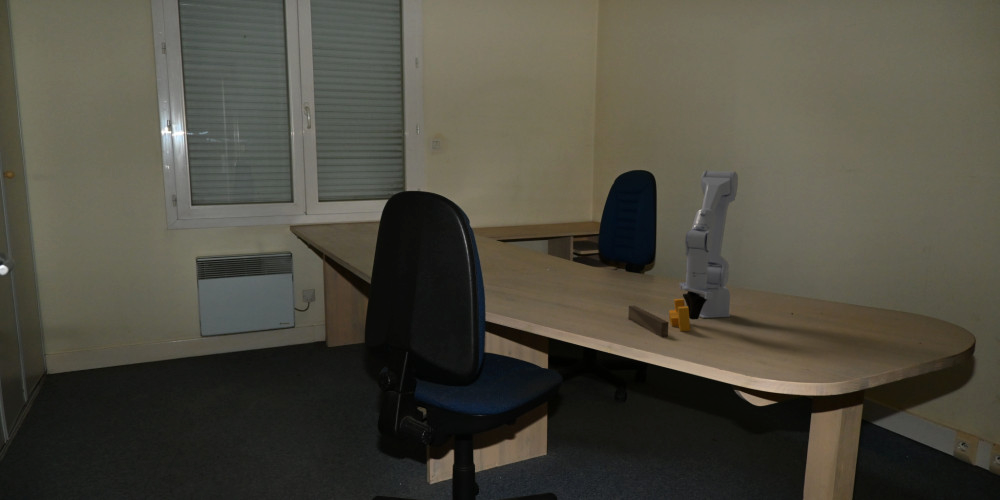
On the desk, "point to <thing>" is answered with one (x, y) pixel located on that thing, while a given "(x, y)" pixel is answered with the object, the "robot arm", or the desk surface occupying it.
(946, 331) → the desk surface
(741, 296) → the desk surface
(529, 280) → the desk surface
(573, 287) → the desk surface
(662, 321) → the rail
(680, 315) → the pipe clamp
